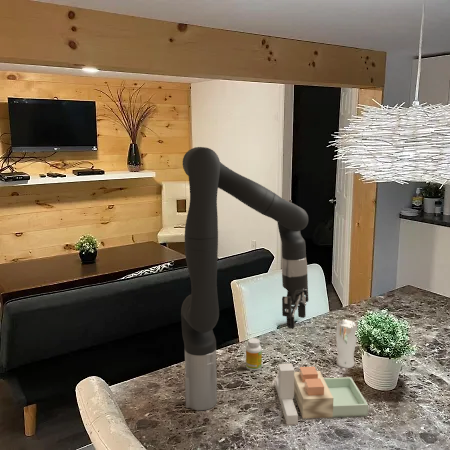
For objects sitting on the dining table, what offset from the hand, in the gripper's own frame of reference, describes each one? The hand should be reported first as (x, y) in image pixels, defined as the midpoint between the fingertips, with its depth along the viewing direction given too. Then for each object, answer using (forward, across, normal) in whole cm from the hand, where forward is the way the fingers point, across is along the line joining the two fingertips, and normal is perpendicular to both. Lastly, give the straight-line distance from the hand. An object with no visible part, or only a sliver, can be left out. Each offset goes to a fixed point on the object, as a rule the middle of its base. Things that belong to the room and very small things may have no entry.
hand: (296, 322), depth 139 cm
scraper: (+22, +10, 0) cm, 24 cm away
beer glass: (+23, -23, +8) cm, 33 cm away
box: (+23, 0, +14) cm, 27 cm away
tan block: (+22, +6, +6) cm, 24 cm away
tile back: (+16, +3, +4) cm, 17 cm away
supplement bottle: (+22, -4, -18) cm, 29 cm away
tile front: (+16, +8, +8) cm, 20 cm away
